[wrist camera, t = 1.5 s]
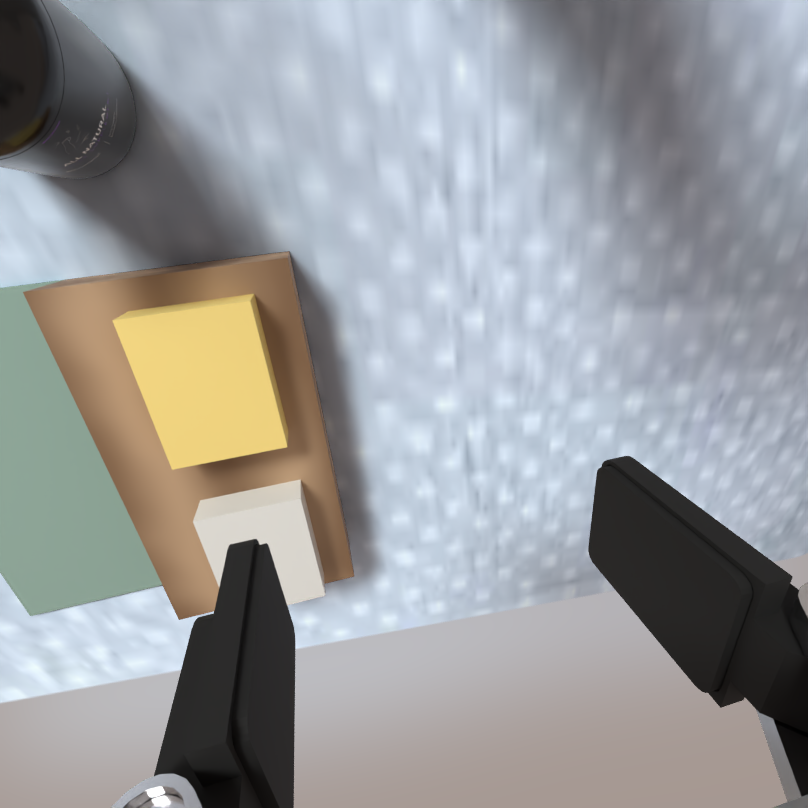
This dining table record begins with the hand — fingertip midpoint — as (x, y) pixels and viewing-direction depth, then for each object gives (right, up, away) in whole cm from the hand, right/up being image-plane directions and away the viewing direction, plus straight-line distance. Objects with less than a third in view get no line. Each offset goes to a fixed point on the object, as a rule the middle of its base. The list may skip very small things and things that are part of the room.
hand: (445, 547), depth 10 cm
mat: (-23, -1, +17) cm, 29 cm away
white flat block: (-10, -5, +18) cm, 21 cm away
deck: (-12, +1, +19) cm, 22 cm away
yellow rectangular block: (-11, +5, +13) cm, 18 cm away
